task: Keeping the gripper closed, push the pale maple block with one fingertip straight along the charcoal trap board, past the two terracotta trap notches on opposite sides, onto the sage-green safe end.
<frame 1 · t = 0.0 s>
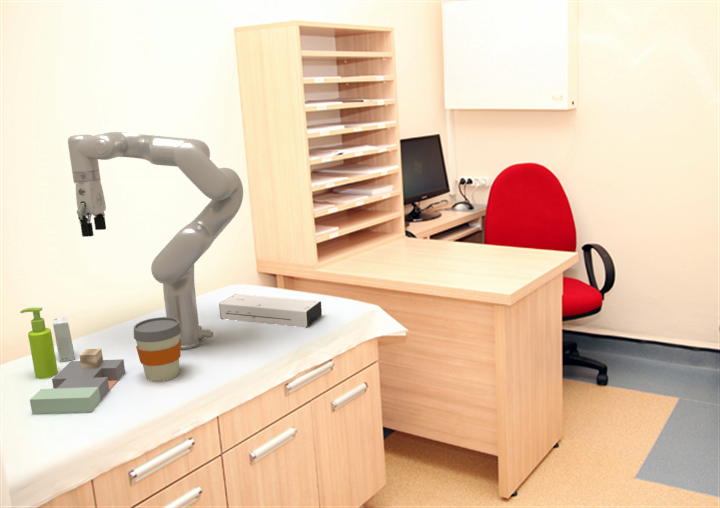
hand: (94, 232, 200), 37 cm above the worktop, tool pointing down, fingers open, 9 cm apart
maple block: (92, 365, 183), point 4 cm above the worktop, touching trap board
soap dispenser: (44, 375, 189), on the worktop
trap board: (81, 391, 176), on the worktop
skincare box: (66, 358, 200), on the worktop
reusable coffee cup: (162, 375, 185), on the worktop
laminator: (271, 319, 229), on the worktop
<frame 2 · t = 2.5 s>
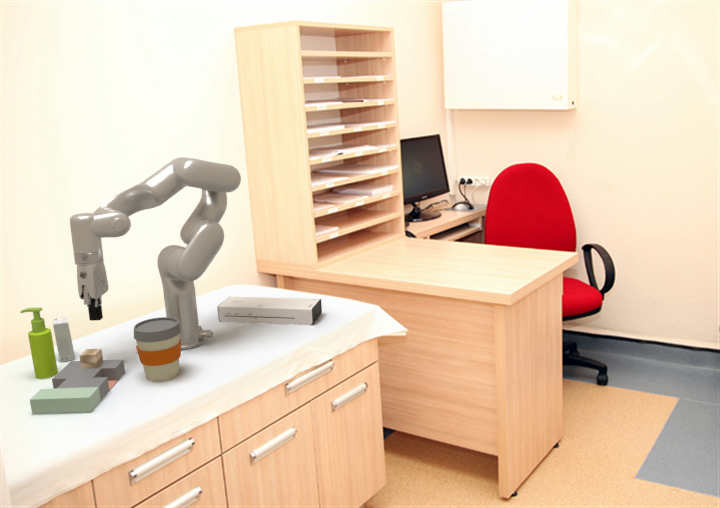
hand: (96, 319, 188), 15 cm above the worktop, tool pointing down, fingers closed
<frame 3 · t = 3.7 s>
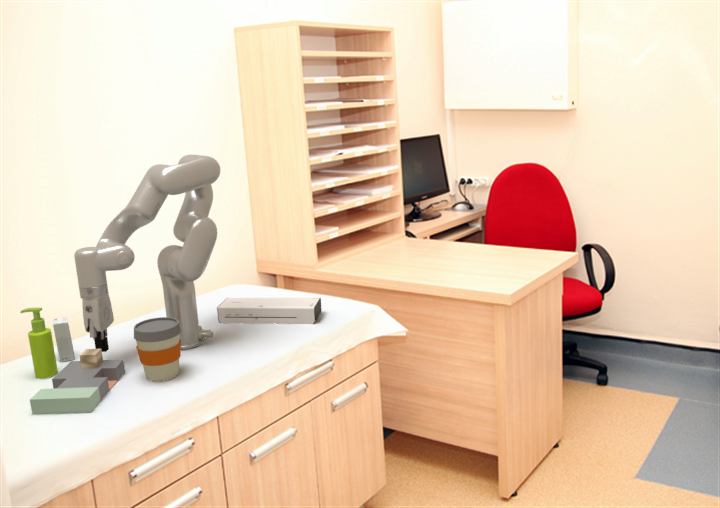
hand: (102, 350, 191), 5 cm above the worktop, tool pointing down, fingers closed
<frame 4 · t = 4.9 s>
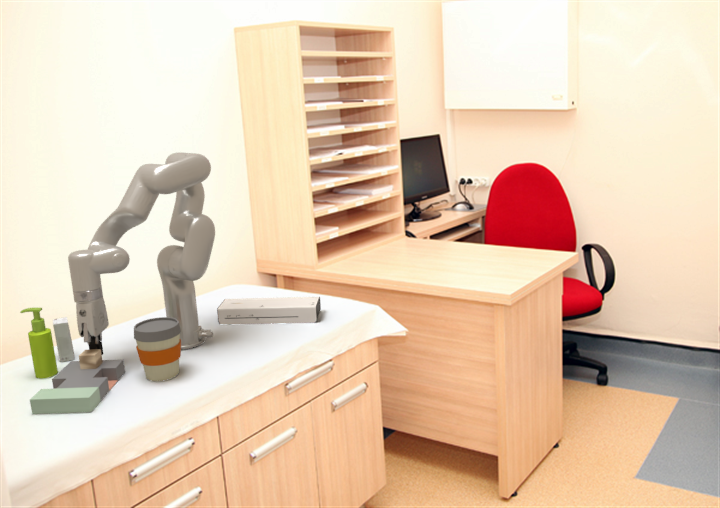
hand: (96, 355, 187), 5 cm above the worktop, tool pointing down, fingers closed
maple block: (91, 365, 183), point 4 cm above the worktop, touching gripper, trap board
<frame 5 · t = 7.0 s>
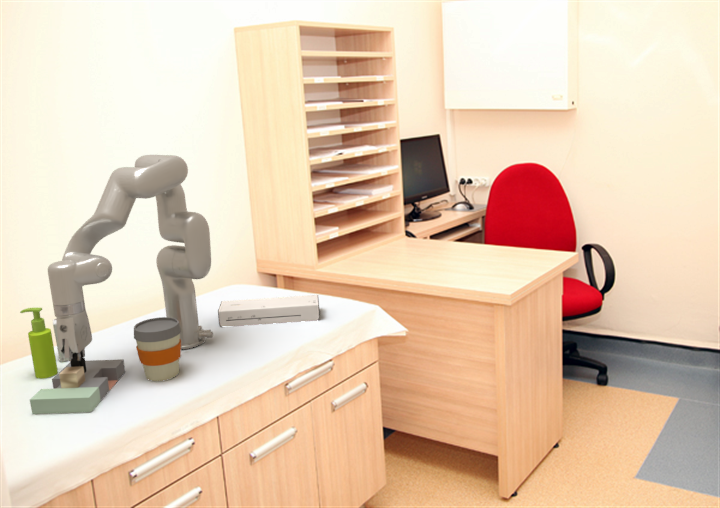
hand: (79, 372, 175), 5 cm above the worktop, tool pointing down, fingers closed
maple block: (73, 384, 172), point 4 cm above the worktop, touching gripper, trap board
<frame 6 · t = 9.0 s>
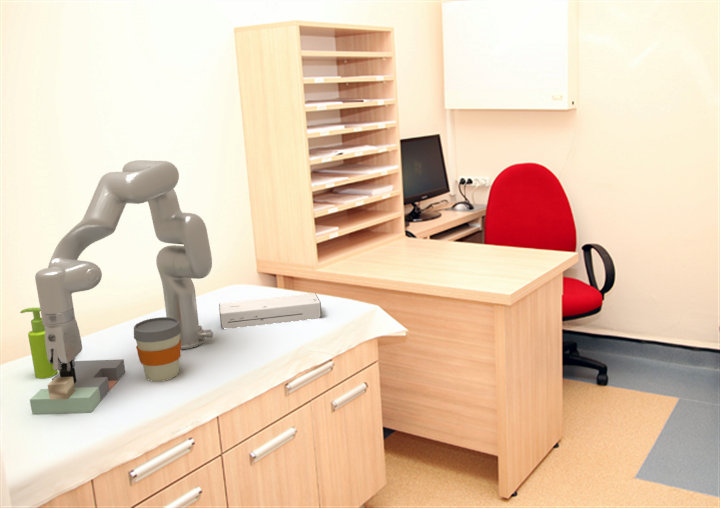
hand: (69, 383, 169), 5 cm above the worktop, tool pointing down, fingers closed
maple block: (62, 395, 165), point 4 cm above the worktop, touching gripper, trap board
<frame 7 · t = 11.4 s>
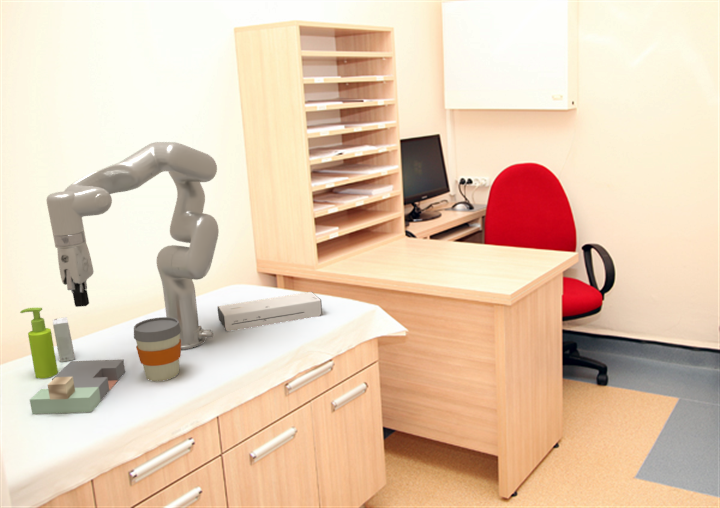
hand: (82, 305, 176), 23 cm above the worktop, tool pointing down, fingers closed
maple block: (62, 395, 165), point 4 cm above the worktop, touching trap board
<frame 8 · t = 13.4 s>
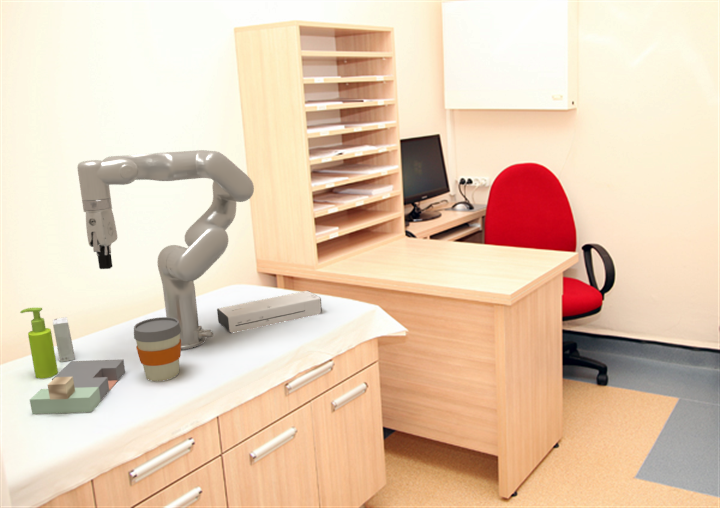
hand: (106, 268, 188), 29 cm above the worktop, tool pointing down, fingers closed
at the end: maple block inside the target area on the trap board (1.4 cm from its centre), point 4.0 cm above the trap board's base; maple block tilted 0°; maple block moved 18.7 cm from its start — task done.
